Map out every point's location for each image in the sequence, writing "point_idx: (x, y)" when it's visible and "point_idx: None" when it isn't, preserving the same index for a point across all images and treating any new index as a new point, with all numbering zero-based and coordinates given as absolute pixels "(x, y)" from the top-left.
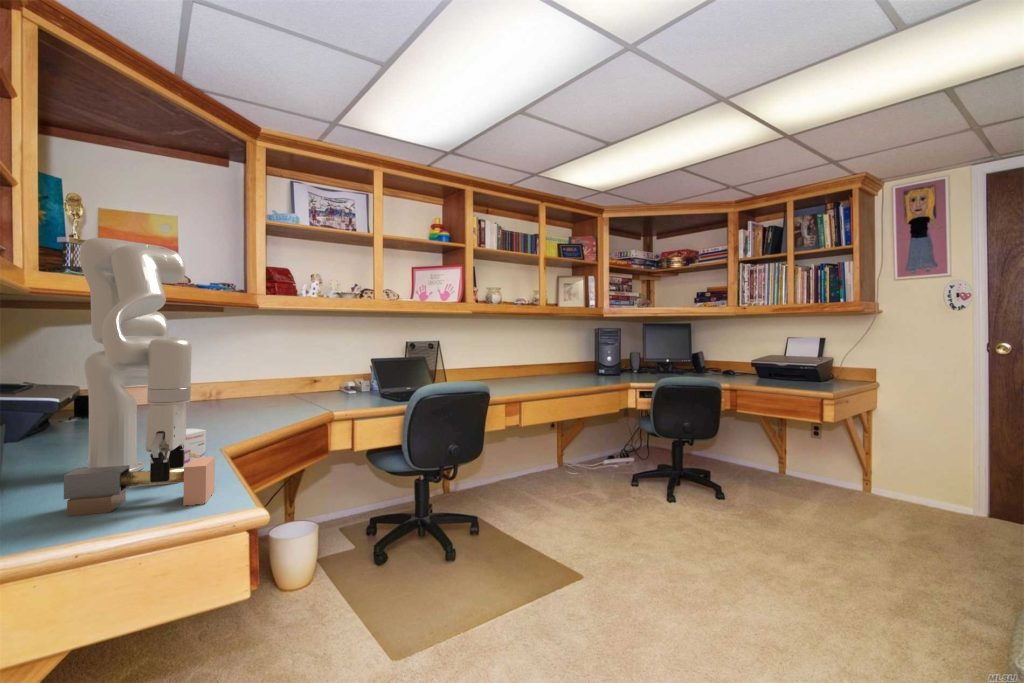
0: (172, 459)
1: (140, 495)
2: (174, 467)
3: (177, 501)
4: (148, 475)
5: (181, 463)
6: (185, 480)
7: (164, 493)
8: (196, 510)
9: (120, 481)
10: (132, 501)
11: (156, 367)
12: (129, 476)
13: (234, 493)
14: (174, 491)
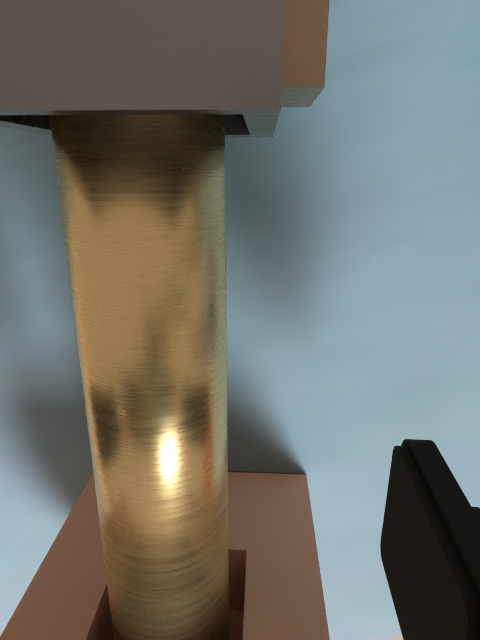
0: (413, 559)
1: (410, 169)
2: (386, 501)
3: None
4: (85, 373)
5: (391, 580)
6: (25, 603)
7: (391, 314)
8: (18, 529)
9: (22, 126)
10: (276, 163)
11: None
12: (60, 201)
13: None
14: (413, 361)
